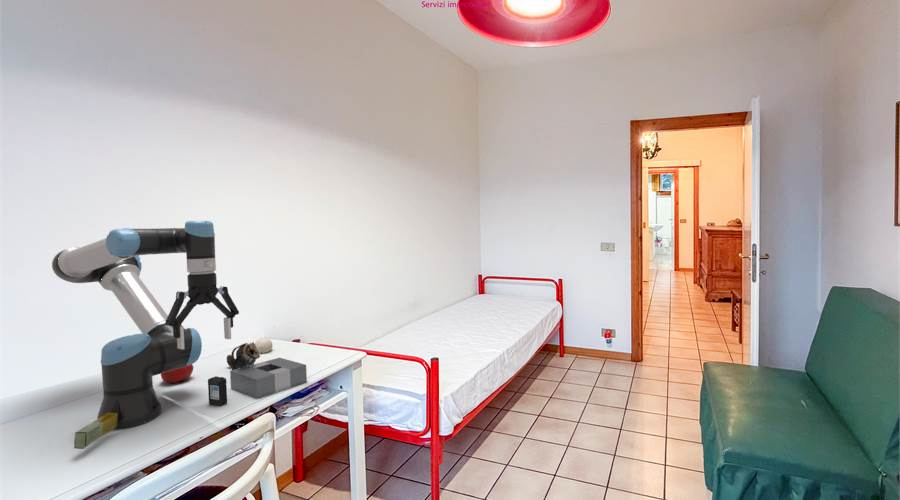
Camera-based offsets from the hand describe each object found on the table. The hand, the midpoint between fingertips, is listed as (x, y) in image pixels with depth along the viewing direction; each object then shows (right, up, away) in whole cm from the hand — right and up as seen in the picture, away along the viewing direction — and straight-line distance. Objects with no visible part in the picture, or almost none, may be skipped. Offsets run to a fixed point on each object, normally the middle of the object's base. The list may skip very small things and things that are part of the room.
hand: (205, 343), depth 135 cm
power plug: (-2, -19, +24) cm, 31 cm away
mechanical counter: (-6, -17, +36) cm, 40 cm away
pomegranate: (-24, -18, +25) cm, 39 cm away
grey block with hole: (+13, -18, +17) cm, 27 cm away
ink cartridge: (+3, -19, +1) cm, 19 cm away
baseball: (-6, -16, +57) cm, 59 cm away
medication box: (-17, -20, -19) cm, 33 cm away
